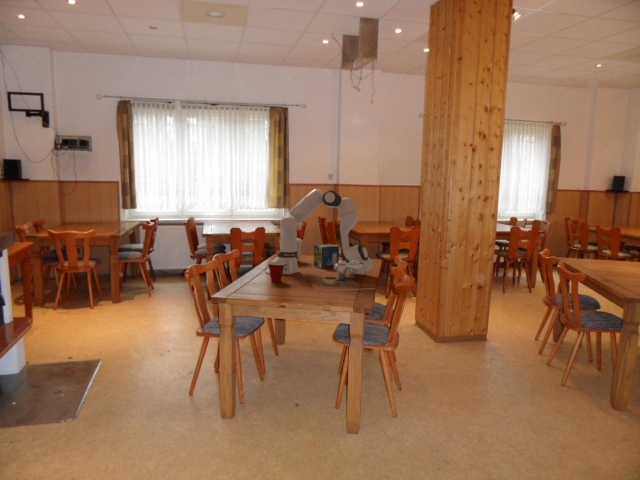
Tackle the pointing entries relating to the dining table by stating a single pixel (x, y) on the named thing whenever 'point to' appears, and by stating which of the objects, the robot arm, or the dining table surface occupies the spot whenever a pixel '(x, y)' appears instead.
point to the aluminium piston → (341, 270)
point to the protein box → (326, 255)
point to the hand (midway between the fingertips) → (340, 270)
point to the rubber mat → (339, 282)
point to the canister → (299, 245)
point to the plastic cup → (276, 271)
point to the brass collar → (330, 280)
